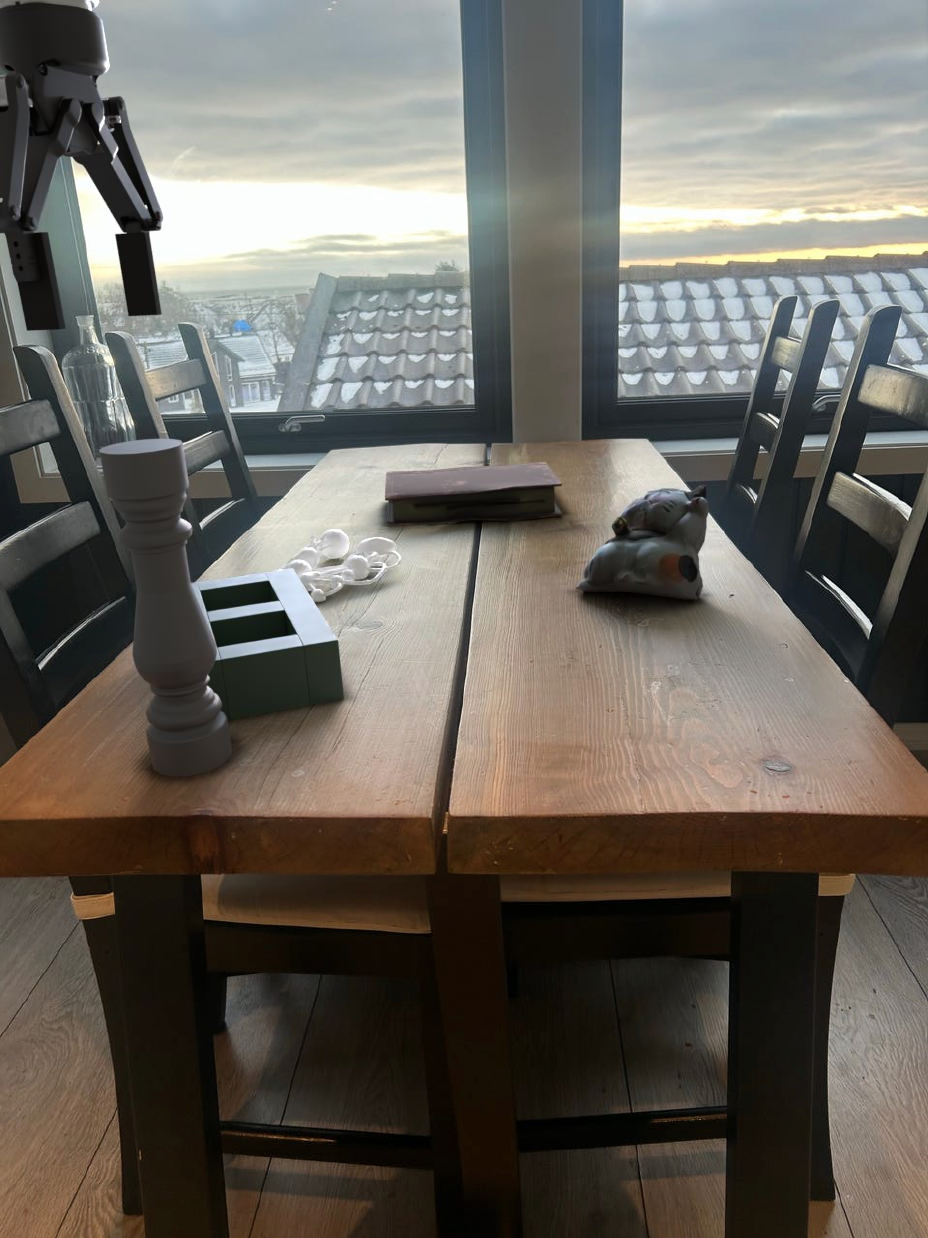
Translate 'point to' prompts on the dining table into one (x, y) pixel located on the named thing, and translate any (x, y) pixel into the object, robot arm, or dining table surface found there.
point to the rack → (268, 644)
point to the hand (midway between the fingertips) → (99, 322)
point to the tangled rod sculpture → (352, 567)
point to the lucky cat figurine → (653, 547)
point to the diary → (471, 494)
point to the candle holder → (167, 607)
